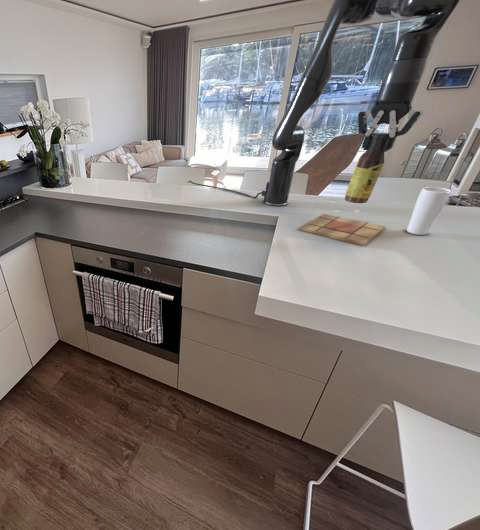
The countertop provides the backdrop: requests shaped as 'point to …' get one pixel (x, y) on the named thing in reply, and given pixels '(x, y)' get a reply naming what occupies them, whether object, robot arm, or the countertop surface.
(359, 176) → the sauce bottle
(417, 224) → the drinking glass
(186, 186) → the countertop surface
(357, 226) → the board
